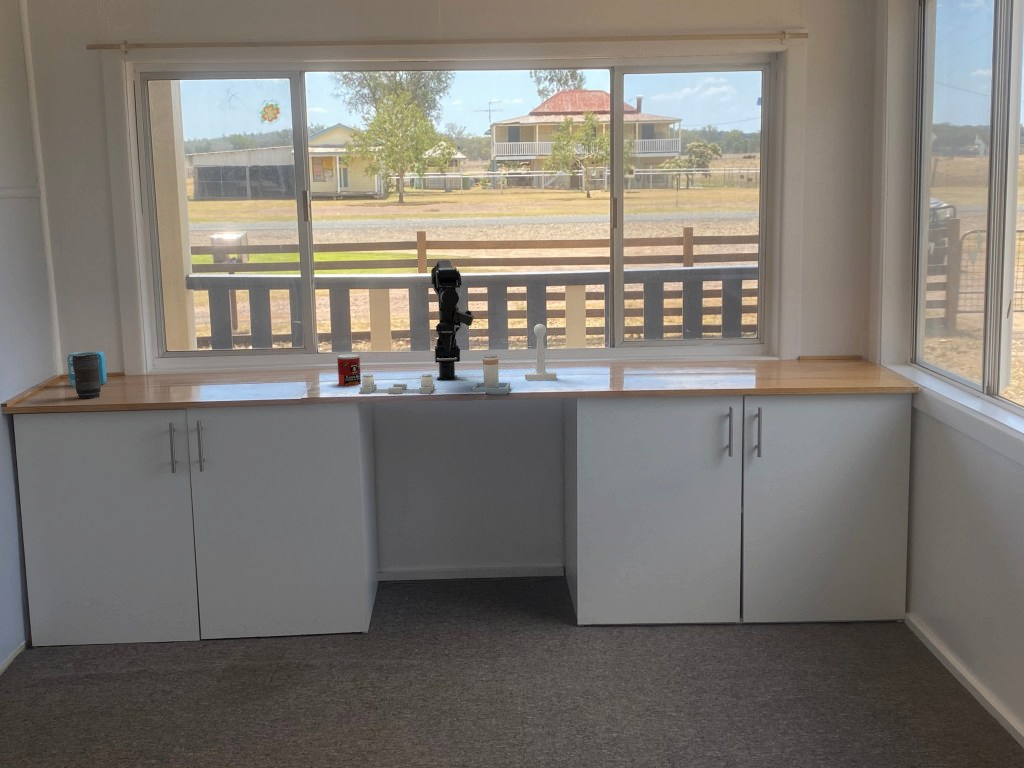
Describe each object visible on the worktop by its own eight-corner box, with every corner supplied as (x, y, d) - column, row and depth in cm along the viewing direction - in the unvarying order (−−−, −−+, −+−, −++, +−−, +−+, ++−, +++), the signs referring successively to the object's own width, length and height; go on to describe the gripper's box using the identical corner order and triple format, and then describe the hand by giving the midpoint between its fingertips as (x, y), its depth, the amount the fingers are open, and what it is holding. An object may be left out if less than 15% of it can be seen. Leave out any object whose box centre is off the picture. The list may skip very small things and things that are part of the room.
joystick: (525, 381, 359) (524, 324, 356) (524, 377, 367) (523, 322, 363) (556, 380, 360) (556, 324, 357) (554, 376, 367) (553, 321, 364)
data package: (69, 386, 368) (66, 354, 366) (73, 384, 372) (70, 352, 370) (104, 385, 369) (101, 352, 367) (107, 383, 374) (104, 351, 372)
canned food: (345, 389, 350) (343, 358, 348) (334, 386, 356) (333, 355, 355) (365, 386, 354) (363, 355, 353) (354, 384, 361) (353, 353, 359)
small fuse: (422, 390, 340) (421, 373, 339) (434, 390, 339) (433, 373, 338) (420, 392, 336) (419, 375, 335) (432, 392, 335) (431, 375, 334)
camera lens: (71, 398, 344) (66, 354, 342) (92, 394, 351) (88, 351, 348) (85, 400, 340) (81, 356, 337) (106, 396, 346) (102, 352, 344)
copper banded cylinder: (480, 389, 340) (479, 355, 338) (492, 387, 344) (491, 353, 342) (490, 391, 336) (489, 356, 335) (502, 389, 340) (501, 355, 338)
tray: (476, 388, 346) (476, 382, 346) (510, 388, 345) (510, 382, 345) (472, 394, 335) (472, 388, 335) (507, 394, 334) (507, 388, 334)
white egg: (364, 390, 342) (363, 374, 341) (375, 390, 342) (375, 373, 341) (361, 392, 338) (360, 375, 337) (373, 392, 338) (372, 375, 337)
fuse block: (364, 391, 345) (364, 383, 344) (437, 391, 342) (437, 383, 341) (357, 396, 336) (357, 388, 336) (432, 396, 333) (431, 388, 333)
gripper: (468, 306, 336) (469, 353, 338) (475, 301, 354) (476, 345, 357) (435, 307, 337) (436, 353, 339) (443, 302, 355) (445, 346, 358)
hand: (449, 349), depth 348 cm, fingers open, 9 cm apart
